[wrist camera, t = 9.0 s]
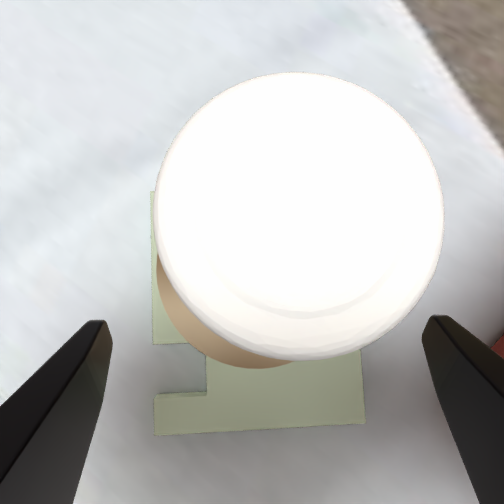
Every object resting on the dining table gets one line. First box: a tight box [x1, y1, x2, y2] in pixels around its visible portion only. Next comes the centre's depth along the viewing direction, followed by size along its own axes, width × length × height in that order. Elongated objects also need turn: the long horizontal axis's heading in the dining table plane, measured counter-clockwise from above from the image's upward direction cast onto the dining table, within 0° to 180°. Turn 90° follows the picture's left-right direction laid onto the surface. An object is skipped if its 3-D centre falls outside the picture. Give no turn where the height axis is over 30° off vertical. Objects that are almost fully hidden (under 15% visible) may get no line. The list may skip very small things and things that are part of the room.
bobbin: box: [156, 254, 294, 369], centre depth 20 cm, size 10×10×3 cm
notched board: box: [150, 191, 366, 436], centre depth 22 cm, size 14×12×1 cm
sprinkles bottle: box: [153, 72, 444, 361], centre depth 12 cm, size 5×5×14 cm
